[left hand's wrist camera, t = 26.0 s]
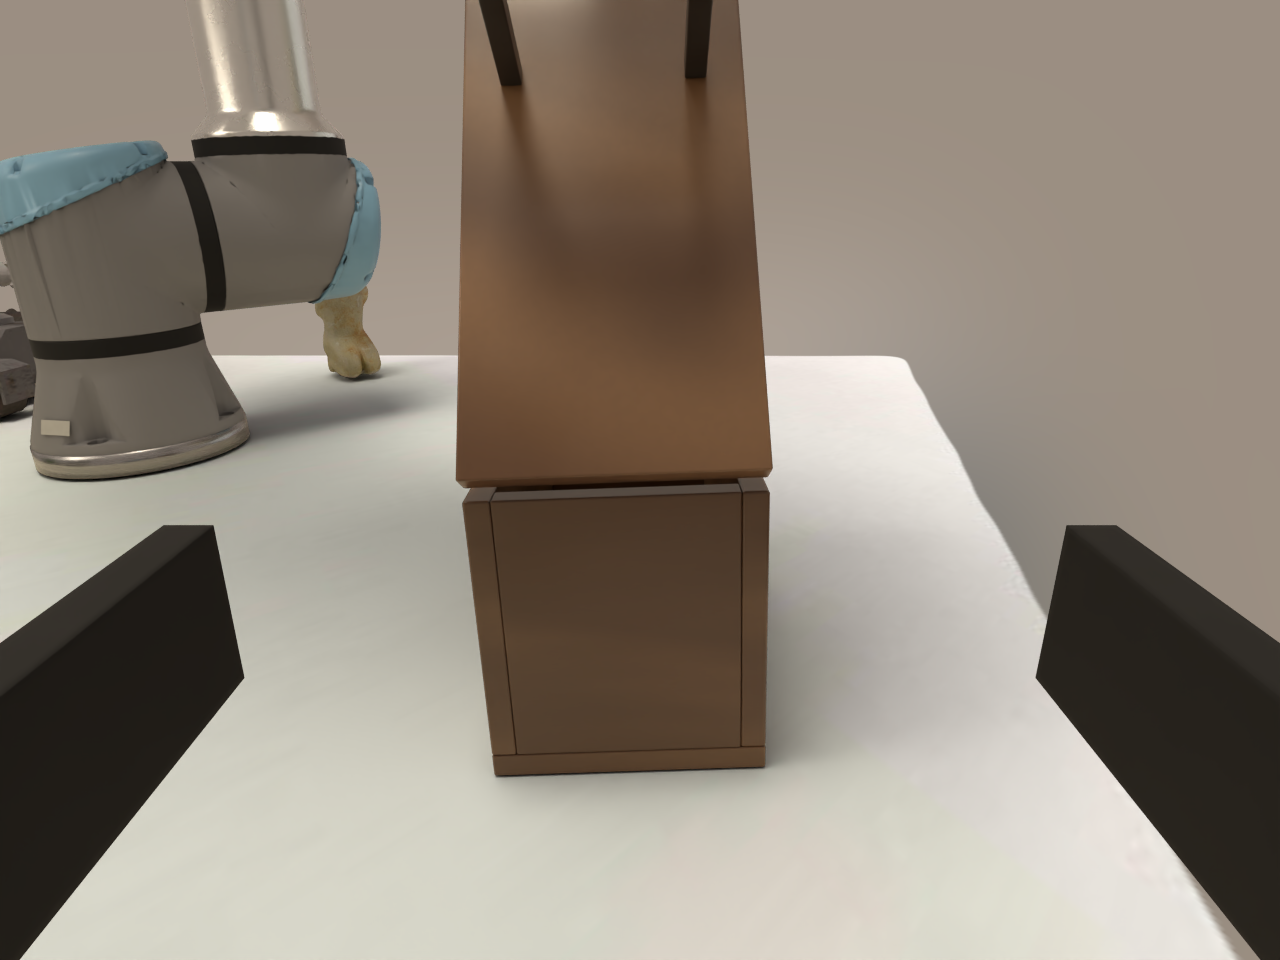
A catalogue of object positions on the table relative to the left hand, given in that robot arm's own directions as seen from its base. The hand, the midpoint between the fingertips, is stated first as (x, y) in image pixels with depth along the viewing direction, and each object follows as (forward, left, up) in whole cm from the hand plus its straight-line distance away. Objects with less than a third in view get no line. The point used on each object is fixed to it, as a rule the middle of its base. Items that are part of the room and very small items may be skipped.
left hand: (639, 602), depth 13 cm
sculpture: (+72, +47, -12) cm, 87 cm away
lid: (+16, +4, +5) cm, 17 cm away
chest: (+18, +4, -12) cm, 23 cm away
